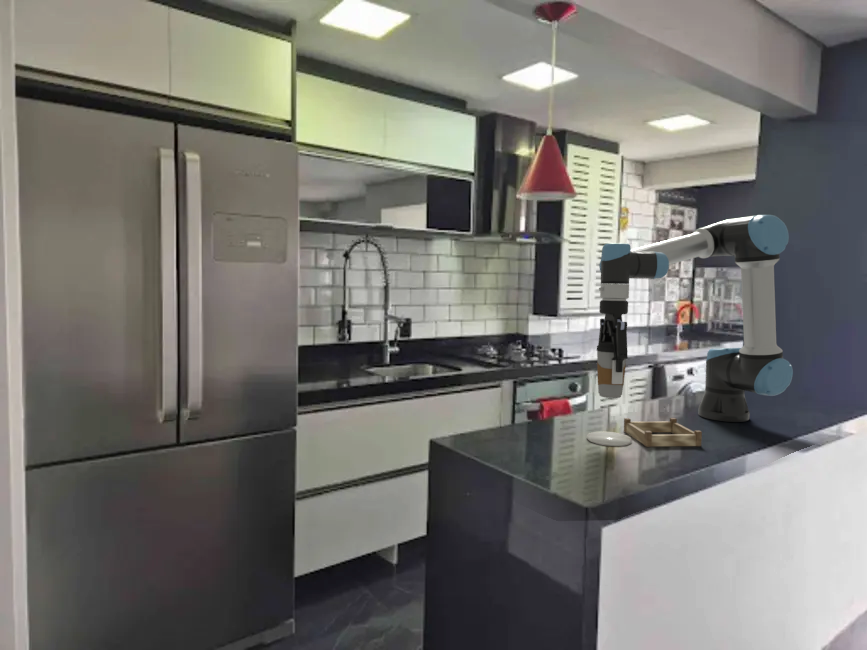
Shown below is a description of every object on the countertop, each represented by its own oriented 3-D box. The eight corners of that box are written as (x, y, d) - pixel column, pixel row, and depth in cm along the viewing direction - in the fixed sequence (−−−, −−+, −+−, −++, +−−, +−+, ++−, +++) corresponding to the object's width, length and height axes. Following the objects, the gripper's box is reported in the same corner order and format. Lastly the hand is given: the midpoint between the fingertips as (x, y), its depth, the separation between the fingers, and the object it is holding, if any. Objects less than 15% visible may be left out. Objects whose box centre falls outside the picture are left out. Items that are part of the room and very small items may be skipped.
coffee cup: (627, 399, 154) (630, 344, 153) (595, 398, 156) (597, 343, 155) (623, 393, 162) (625, 341, 161) (593, 392, 164) (595, 340, 163)
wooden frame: (673, 431, 170) (674, 417, 170) (701, 446, 155) (701, 431, 155) (623, 431, 169) (624, 418, 169) (646, 446, 154) (646, 432, 154)
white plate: (621, 433, 167) (621, 431, 166) (638, 446, 155) (638, 443, 155) (581, 434, 166) (581, 431, 166) (595, 446, 154) (595, 443, 154)
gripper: (587, 298, 167) (585, 374, 169) (615, 301, 146) (611, 388, 148) (612, 298, 168) (609, 374, 169) (643, 301, 147) (639, 388, 148)
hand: (610, 380), depth 159 cm, fingers closed on coffee cup, 8 cm apart
